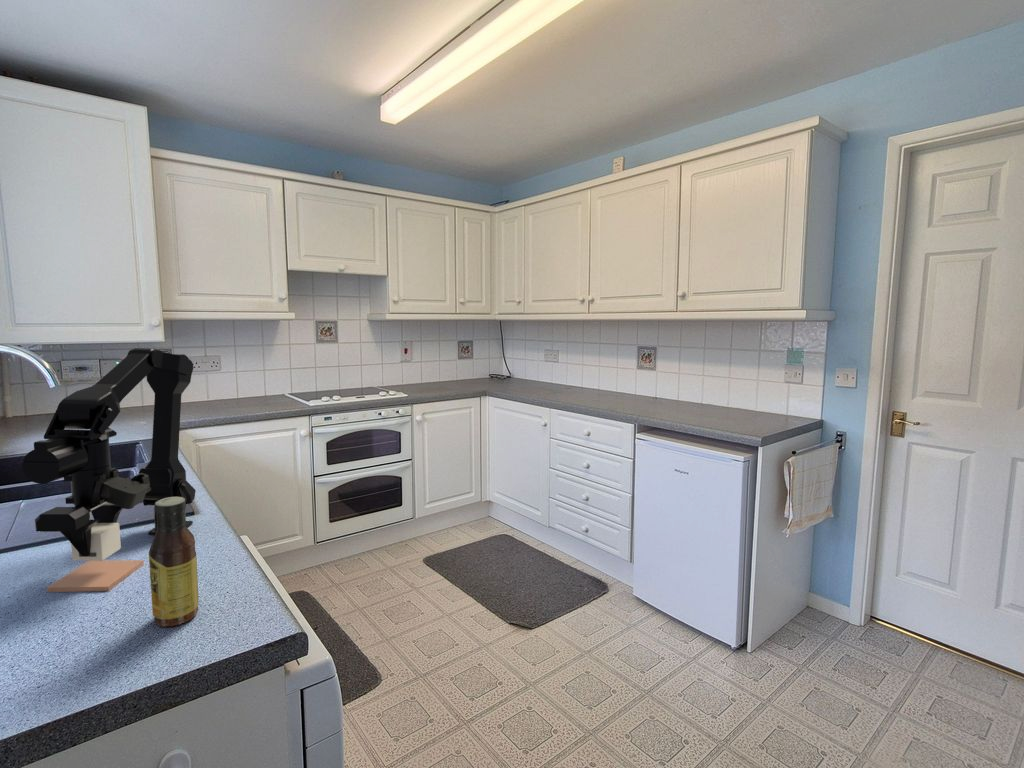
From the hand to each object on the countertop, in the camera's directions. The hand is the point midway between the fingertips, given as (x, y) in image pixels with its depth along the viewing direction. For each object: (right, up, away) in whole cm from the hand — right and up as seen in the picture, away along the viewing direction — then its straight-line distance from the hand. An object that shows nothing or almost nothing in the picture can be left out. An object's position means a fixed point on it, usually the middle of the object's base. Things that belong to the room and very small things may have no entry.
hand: (96, 549), depth 95 cm
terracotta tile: (0, -5, +1) cm, 5 cm away
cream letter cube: (0, -1, 0) cm, 1 cm away
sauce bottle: (+22, -8, -11) cm, 26 cm away
